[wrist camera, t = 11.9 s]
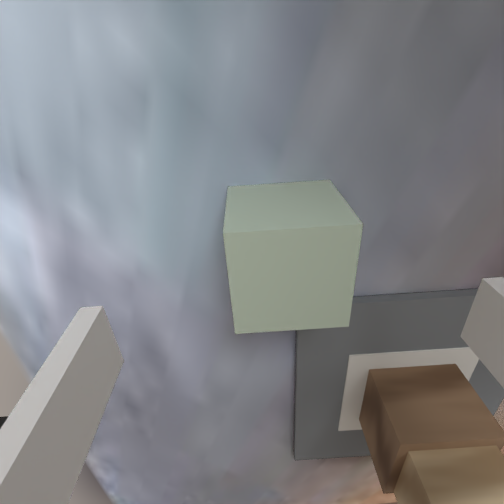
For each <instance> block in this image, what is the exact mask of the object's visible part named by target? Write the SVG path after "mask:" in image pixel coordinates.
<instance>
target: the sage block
mask: <svg viewBox="0 0 504 504" xmlns="http://www.w3.org/2000/svg"><path fill="white" fill-rule="evenodd" d="M362 228H363V223H362V222H361V221H360V219H359V218H358V217H357V215H356V214H355V213H354V211H353V210H352V209H351V207H350V206H349V205H348V203H347V202H346V201H345V199H344V198H343V197H342V195H341V194H340V193H339V191H338V190H337V189H336V187H335V186H334V185H333V183H332V182H331V181H330V180H318V181H303V182H288V183H273V184H258V185H243V186H228V190H227V199H226V209H225V218H224V228H223V238H224V246H225V255H226V263H227V271H228V280H229V288H230V296H231V305H232V313H233V321H234V329H235V334H242V333H258V332H273V331H289V330H304V329H320V328H335V327H349V322H350V315H351V307H352V300H353V293H354V286H355V279H356V271H357V264H358V257H359V250H360V243H361V236H362Z"/></svg>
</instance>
